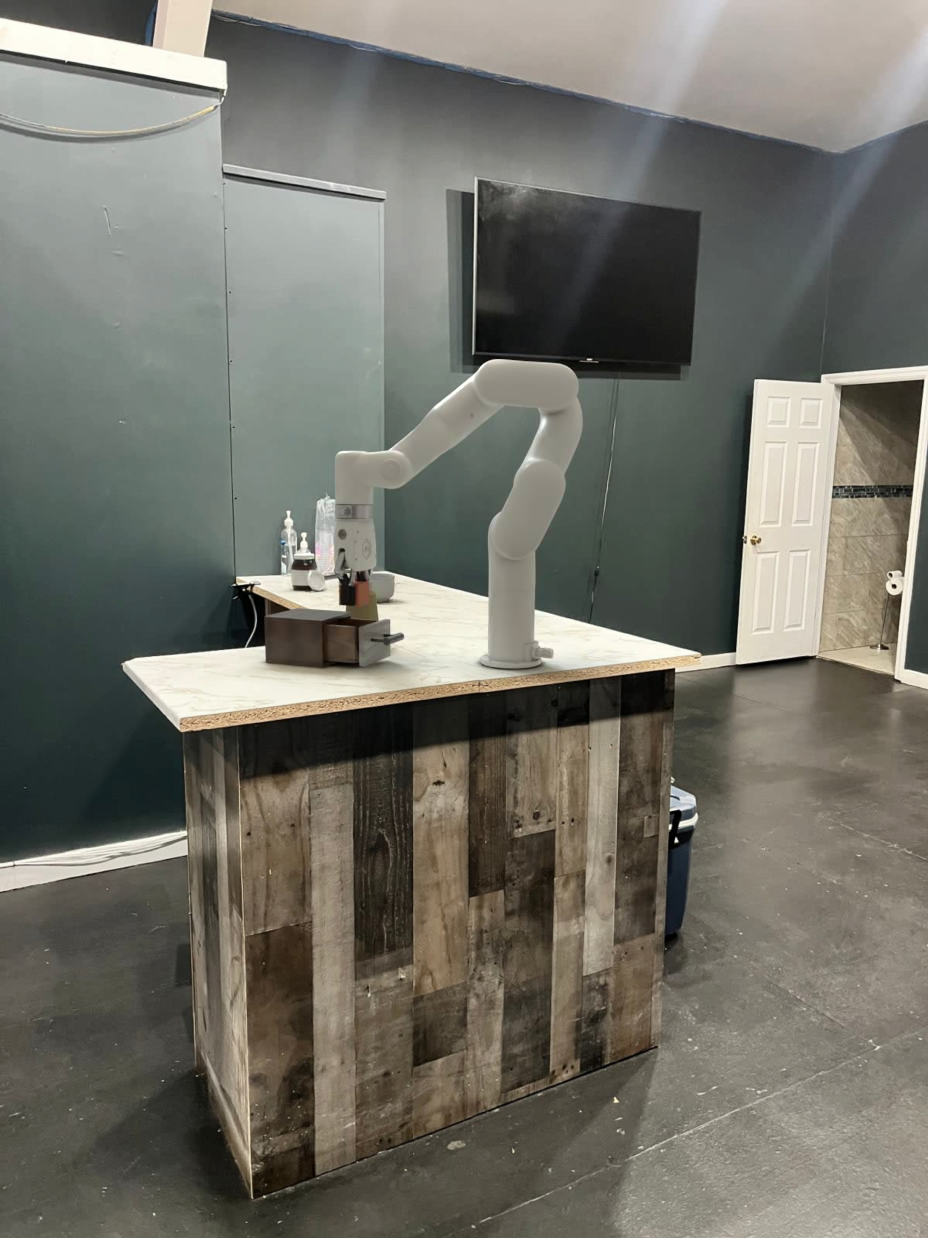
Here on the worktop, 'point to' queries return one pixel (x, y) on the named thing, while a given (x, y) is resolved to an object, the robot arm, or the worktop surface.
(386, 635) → the drawer
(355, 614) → the squeeze bottle
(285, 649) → the cabinet
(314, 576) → the spread jar
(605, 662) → the worktop surface
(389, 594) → the teacup
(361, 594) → the block
